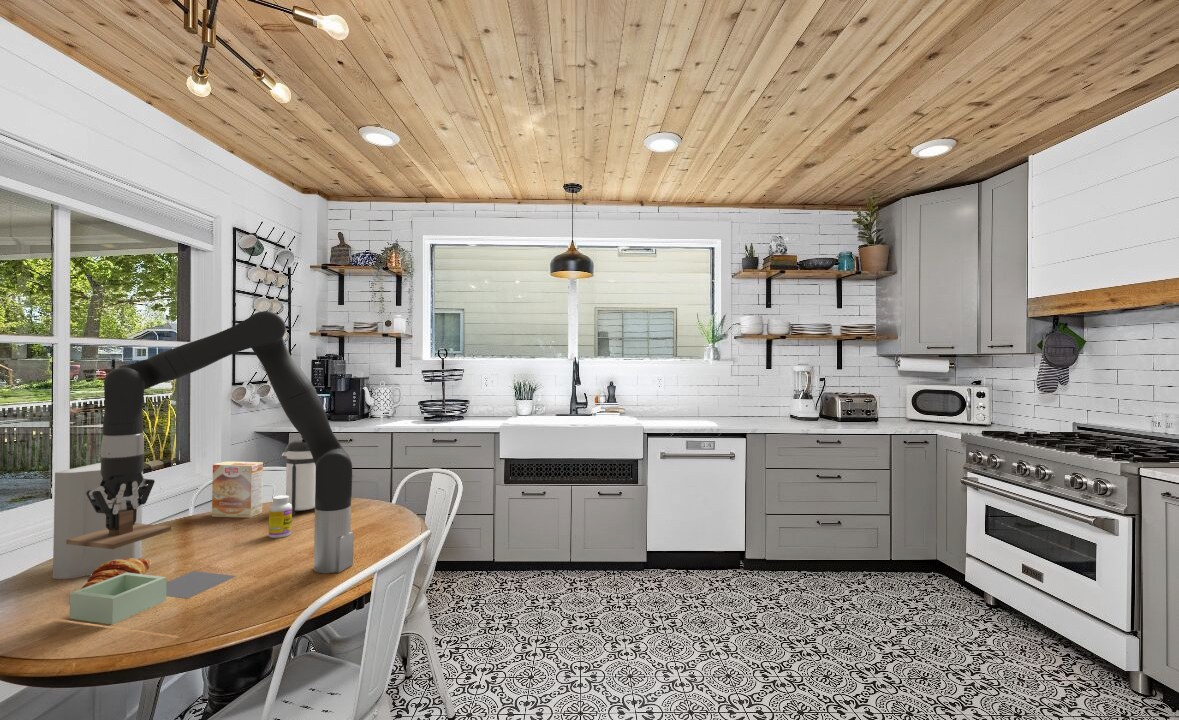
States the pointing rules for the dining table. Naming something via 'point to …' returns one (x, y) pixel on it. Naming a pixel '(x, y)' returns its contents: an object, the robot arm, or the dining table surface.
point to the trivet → (194, 583)
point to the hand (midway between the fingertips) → (121, 527)
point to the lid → (119, 533)
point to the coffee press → (300, 476)
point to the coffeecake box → (237, 489)
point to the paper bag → (82, 524)
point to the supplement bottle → (280, 517)
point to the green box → (117, 598)
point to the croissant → (118, 569)
